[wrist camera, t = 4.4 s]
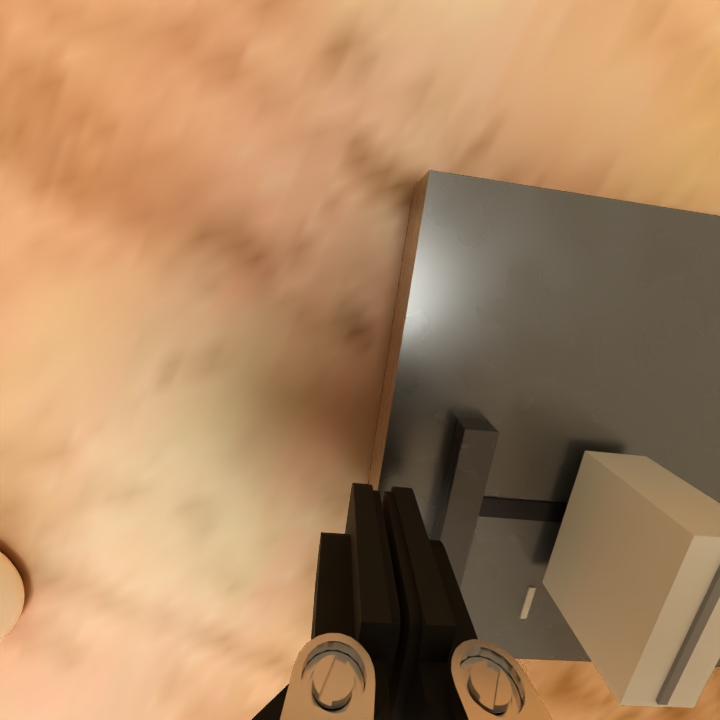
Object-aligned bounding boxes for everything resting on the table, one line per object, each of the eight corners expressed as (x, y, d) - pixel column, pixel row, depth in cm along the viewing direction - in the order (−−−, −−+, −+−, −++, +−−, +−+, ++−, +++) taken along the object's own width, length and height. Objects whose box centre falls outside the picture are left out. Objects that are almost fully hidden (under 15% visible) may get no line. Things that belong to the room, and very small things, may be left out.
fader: (645, 456, 11) (783, 544, 8) (597, 585, 12) (697, 711, 9) (584, 450, 11) (697, 538, 7) (542, 582, 12) (622, 709, 9)
